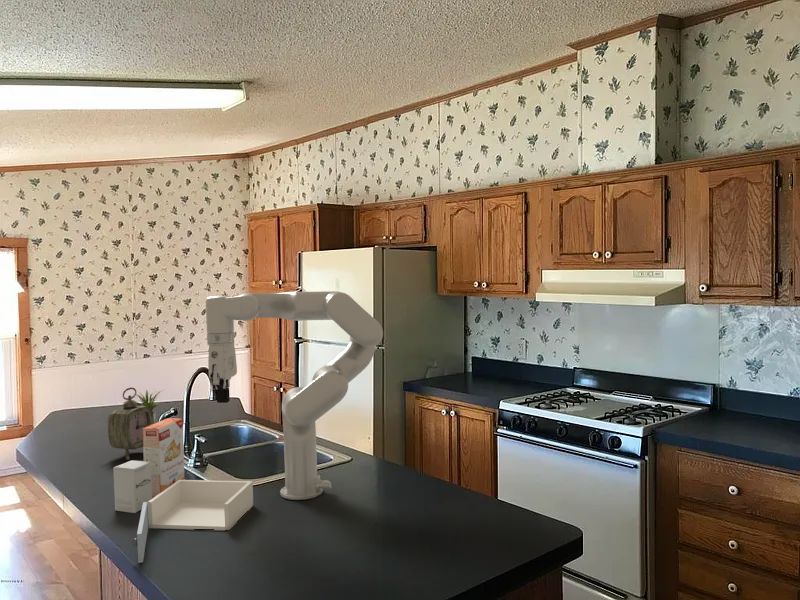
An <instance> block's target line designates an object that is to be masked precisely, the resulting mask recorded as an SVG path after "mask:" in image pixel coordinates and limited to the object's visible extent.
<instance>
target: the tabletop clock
mask: <svg viewBox="0 0 800 600" xmlns="http://www.w3.org/2000/svg"><path fill="white" fill-rule="evenodd" d="M130 390H133V391H134V394H133V395H128V397H125V393H127V392H128V391H130ZM137 392H138V391H137V389H136V388H134V387H128V388H125V390H124V391H122V398H123V400H126V401H124V402H123V404H122V407H120V408H118V409H115V410H112V412H110V413H108V417H107V434H108V435H107V436H108V442H109V444H110V446H111V447H112V448H113V449H119V450H120V449H121V450H123V449H124V455H125V457H124V458H125V460H126V461H130V458H131V456H130V453H131V452H130V451H129V450H137V449H141V448H143V428H145V427H148V426H150V425H153V424H154V419H153V410H152V408H151V407H149V406H143V405H142V406H138V404H137V401H136V400H134V399H135V397H137V395H136V394H137Z"/></svg>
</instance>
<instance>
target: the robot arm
mask: <svg viewBox="0 0 800 600" xmlns="http://www.w3.org/2000/svg"><path fill="white" fill-rule="evenodd" d="M205 317H206V343H207V346H208V358H207V359H208V360H207V361H208V377H209V379H210V380H212V385H214V386H215V390H216V391H215V393H216V403H218V404H222V403H223V404H226V403H229V402H230V400H231V399H230V398H231V397H230V385H231V384H230V382H231V379H232V378H233V377H235V376H236V375H237V374H238V373H237V372H238V368H237V367H238V365H237V356H236V348H235V325H234V323H235V322H234V321H243V322H249V321H253V320H254V319H261V318H262V319H263V318H264V319H265V318H266V319H267V318H269V319H284V320H288V321H297V322H298V321H334V323H335V324H336V325H337V326H338V327H339V328H341V330H343V331H344V332H345V333H346V334H347V335H349V340H348V344H347V346H346V347H345V348H344V349H343V350H342V351H341V352H340V353H338V354H337V355H336V356H335V357H334V358H332V359H331V360H330V361H329V362H327V363H326V364H325V365H324V366H323V365H322V367H320V368H318V369H317V370H316V372H314V374H313V377H312V379H311V380H312V381H311V382H310V383H309V384H308V385H306V386H304V387H300V386H297V387H293V388H290V389H289V390H287V392H286V393H285V394H284V396H283V397H282V401H281V413H282V414H281V415H282V427H283V428H282V429H283V452H284V453H283V454H284V455H283V457H284V481H285V482H284V483H285V485H284V487H282V488H281V489H280V491H279V494H280V496H281V497H282V498H283V499H285V500H286V499H287V500H291V501H300V500H301V501H302V500H309V499H314V498H316V497H318V496H321V495H322V494H323V492H324V490H331V489H332V482H330V480H322V479H321V475H318V459H317V455H318V454H317V453H318V452H317V427H316V421H317V420H318V419H320V418H321V417H323V416H324V415H325V414H327V413H328V412H329V411H330V410H332V409H333V408H334V407H335V406H336V405H337V404H339V403H341V401H342V400H343V399H344V397H345V396H346V395H347V393H348V390H349V383H350V382H352V381H353V380H354V379H355V378H357V376H359V374H361V373H362V372H363V371H364V370H365V369H366V368H367V367H368V366H369V365H370V363H371V361H372V359H373V357H374V355H375V351H376V347H377V345H379V344H380V342H381V341H382V339H383V337H384V330H383V327H382V325H381V323H379V321H378V320H377V319H376V318H374V316H372V315H371V314H370V313H368V312H367V310H365V309H364V308H363V307H362V306H361V305H360V304H359V303H358V302H356V300H354V298H353V297H352V296H350V295H349V294H347V293H345V292H341V291H336V290H335V291H334V290H333V291H330V290H329V291H325V290H324V291H287V292H274V293H273V292H271V293H270V292H261V293H260V292H259V293H255V292H251V293H248V292H247V293H242V294H240V295H237V296H229V295H212V296H208V297H207V298H206V300H205Z"/></svg>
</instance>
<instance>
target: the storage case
mask: <svg viewBox="0 0 800 600" xmlns="http://www.w3.org/2000/svg"><path fill="white" fill-rule="evenodd" d="M253 484H254V483H253V481H252V480H251V481H250V480H249V481H248V480H210V479H209V480H208V479H207V480H206V479H205V480H204V479H200V480H199V479H185V480H178V481H177V482H175V483H174V484H173V485H171V486H170V487H168V488H167V489H165V490H164V491H163V492H161V493H160V494H158V495H157V496H155V497H152V499H151V500H150V501H148V506H147V510H148V529H164V530H165V529H166V530H167V529H168V530H169V529H171V530H194V529H214V530H213V531H225V530H229V529H230V530H231V529H232V528H233V527H234V526H235V525H236V524H237V523H238V522H239V521H240V520H241V519H242V518H243V517H244V516H245V515H246V514H247V513H248V512H249V511H250V510H251V508H252V507H254V490H253V489H254V487H253ZM247 511H248V512H247ZM246 512H247V513H246ZM245 513H246V514H245ZM244 514H245V515H244ZM243 515H244V516H243ZM242 516H243V517H242ZM241 517H242V518H241ZM240 518H241V519H240ZM239 519H240V520H239ZM238 520H239V521H238ZM237 521H238V522H237ZM230 530H229V531H230Z"/></svg>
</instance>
